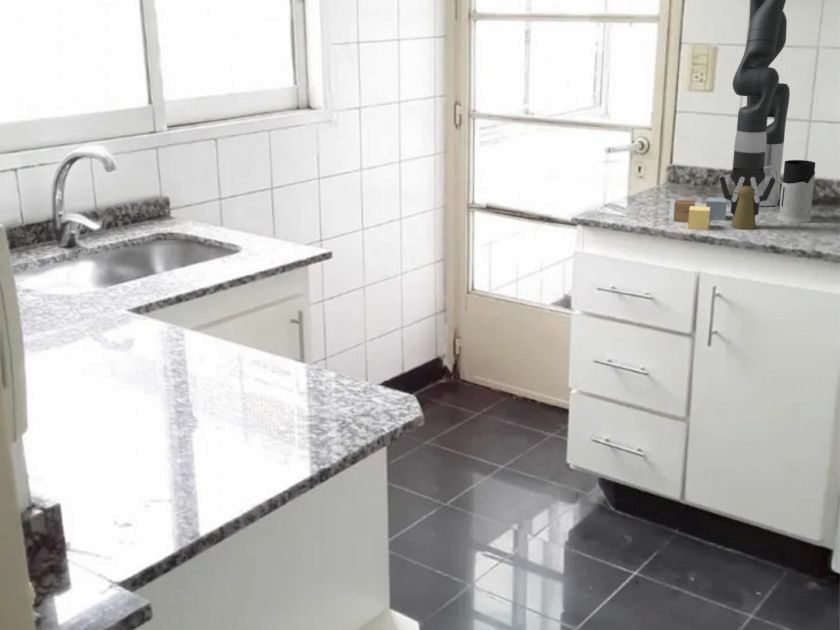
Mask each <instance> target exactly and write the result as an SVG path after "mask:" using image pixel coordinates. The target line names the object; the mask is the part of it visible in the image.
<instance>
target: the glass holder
mask: <svg viewBox="0 0 840 630" xmlns="http://www.w3.org/2000/svg"><path fill="white" fill-rule="evenodd" d="M765 168H772V169H773V170H774V171H775V180H776V182H777V183H780V185H781V187H780V188H781V189H780V198H779V199H780V201H779V206H778V204H777V205H776V204H775V203H774V202H773V201H772V200H771V199H769V198H767V199H768V200H769V201H770V202H772V203H773V204H774V205H773V206H775V207H776V208H777V212H778V215H777V216H776V220H778V221H781V222H785V223H793V224H795V223H797V224H801V223H803V224H804V223H810V222H811V221H812V220H813V219H812V217H811V216H812V215H811V214H812V207H813V206H812V204H813V195H814V186H815V177H816V176H815V175H816V171H815V170H816V162H815V161H812V160H802V159H791V160H790V159H789V160H785V161H784V167H783V173H782V174H783V176H782V181H780V182H778V181H777V172H776V170H775V169H774V168H773V167H770V166H767V167H764V169H765ZM759 185H760V188H761V191H762V193H764V191H763V189H762V187H761V183H760V184H759Z"/></svg>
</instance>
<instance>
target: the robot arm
mask: <svg viewBox="0 0 840 630" xmlns="http://www.w3.org/2000/svg"><path fill="white" fill-rule="evenodd" d="M786 1H787V0H749V18H748V19H749V21H748V22H749V23H748V30H747V31H748V32H747V39H746V44H745V49H744V53H743V56H742V58H741V61H740V63H739V66H738V67H737V69H736V71H735V73H734V76H733V79H732V89H733V92H734V93H735V94H736V95H737V96H740V97H746V105H745V106H742V107H740V108H739V110H738V113H737V124H736V133H735V137H734V144H733V160H732V169H731V171H730V173H728V174H724V175H723V174H722V175H720V176H719V181H720V185H721V189H722V193H723V196H724V197H723V198H725V199H727V200H729V201H730V202H731V203H730V205H731V206H730V213H731V215H732V217H733V216H734V215H735V211H736V207H737V198H738V195H737V194H738V191H739V189H740V187H742V185H751V186H752V187H753V188H754V189H755V190H754V191H755V196H754V204H753V207H754V217H755V218H756V216H758V214H759V211H760V210H759V209H760V207H770V206H775V205H774V204H773V203H772V202H770V201H769V200H768V199H767V198H769V199H771V200H772V201H773V202H774V203H775V204H776V205H777V206H778V204H779V199H780V198H779V196H780V188H781V187H780V185H781V184H780V183H777V182H776V180H775V171H774V170H773V169H772V168H765V169H764V167H767V166H770V167H773V168H774V169H775V170H776V172H777V181H778V182H781V176H782V168H783V167H782V166H783V155H784V154H783V153H784V144H785V132H786V123H787V118H788V115H787V114H788V111H789V110H788V109H789V103H790V95H791V93H790V92H791V91H790V87H789V84H787V83H781V82H780V77H779V76H780V75H779V72H778V71H777V69H776V68H774V67H770V65H771V64H772V63H774V60H776V58H777V57H778V56H779V54H780V53H781V52H782V51H783V48H784V47H785V45H786V40H787V25H788V24H787V21H788V20H787V16H786V14H785V12H784V8H785V5H786ZM779 82H780V83H779ZM768 118H773V121H772V122H771V123H770V124H768ZM730 179H731V181H732V182H733V184H734V185H735V188H734V190H733V192H732V194H731V193H730V192H729V189H728V184H729V182H730ZM760 183H761V187H762V189H763V191H764V193H762V191H761V188H760V185H759V184H760ZM738 188H739V189H738Z"/></svg>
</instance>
